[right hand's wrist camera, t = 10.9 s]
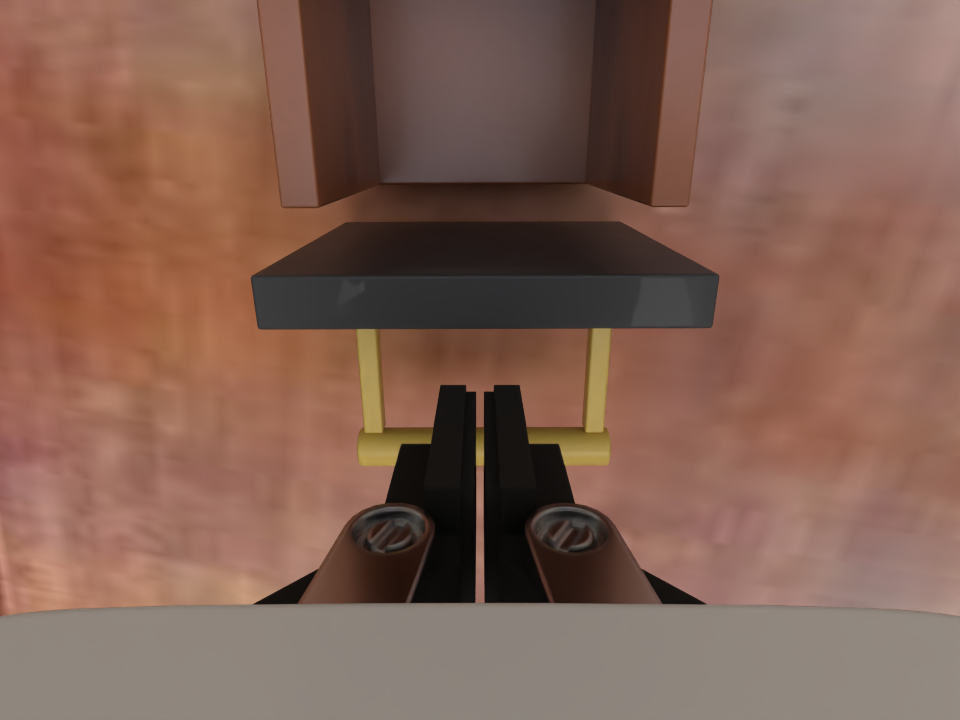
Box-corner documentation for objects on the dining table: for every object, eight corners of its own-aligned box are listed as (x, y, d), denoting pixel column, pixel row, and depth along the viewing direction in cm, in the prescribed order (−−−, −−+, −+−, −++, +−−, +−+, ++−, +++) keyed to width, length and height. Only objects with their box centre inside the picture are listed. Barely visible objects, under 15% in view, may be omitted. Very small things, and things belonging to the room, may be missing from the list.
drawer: (606, 402, 23) (681, 553, 15) (359, 403, 23) (288, 554, 15) (666, -347, 16) (895, -954, 7) (297, -346, 16) (74, -952, 7)
